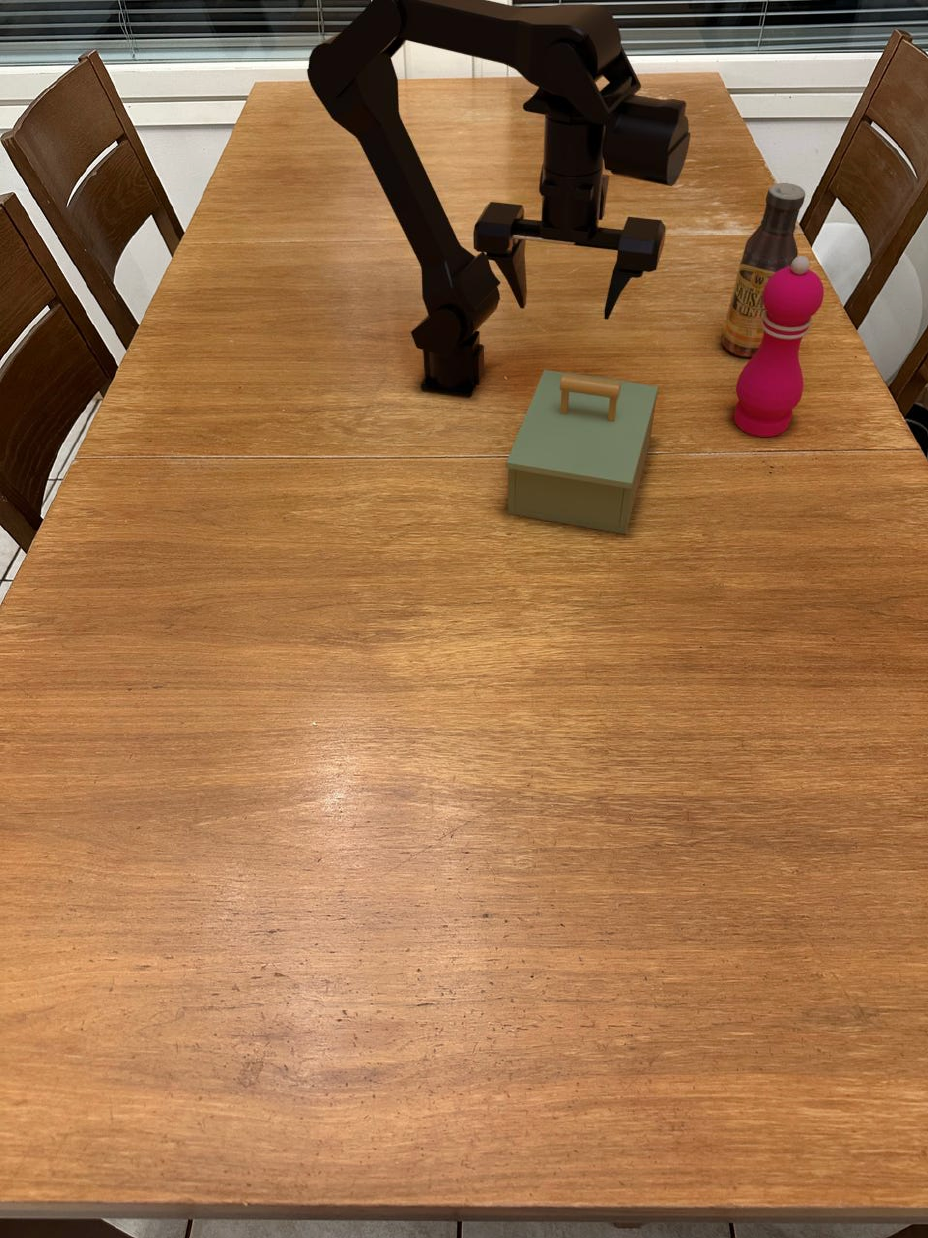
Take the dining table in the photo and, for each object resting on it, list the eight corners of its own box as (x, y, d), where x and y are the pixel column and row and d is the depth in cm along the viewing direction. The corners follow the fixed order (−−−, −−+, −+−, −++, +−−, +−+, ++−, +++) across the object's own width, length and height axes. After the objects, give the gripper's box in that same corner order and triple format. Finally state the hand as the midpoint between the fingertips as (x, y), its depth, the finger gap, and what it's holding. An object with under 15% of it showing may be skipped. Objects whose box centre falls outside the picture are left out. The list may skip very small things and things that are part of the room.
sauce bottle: (713, 352, 119) (745, 195, 104) (729, 328, 122) (761, 172, 107) (765, 366, 116) (804, 206, 102) (779, 340, 120) (819, 183, 105)
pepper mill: (794, 443, 106) (842, 277, 91) (728, 436, 108) (765, 272, 93) (792, 405, 111) (838, 241, 96) (729, 399, 112) (765, 236, 97)
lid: (631, 489, 92) (637, 446, 88) (505, 468, 94) (506, 426, 91) (657, 392, 102) (663, 350, 98) (543, 375, 105) (545, 333, 101)
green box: (625, 534, 97) (632, 484, 92) (507, 513, 100) (508, 463, 95) (650, 442, 107) (657, 392, 102) (541, 425, 110) (543, 375, 105)
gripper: (683, 138, 93) (662, 284, 105) (500, 122, 97) (500, 265, 109) (666, 187, 86) (646, 338, 98) (470, 168, 90) (473, 315, 102)
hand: (564, 311), depth 102 cm, fingers open, 9 cm apart
